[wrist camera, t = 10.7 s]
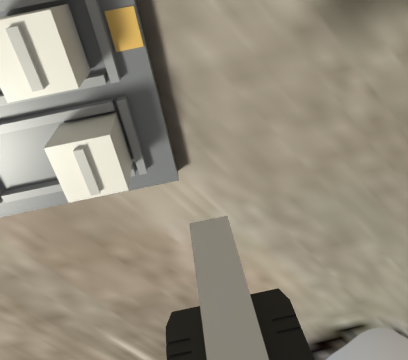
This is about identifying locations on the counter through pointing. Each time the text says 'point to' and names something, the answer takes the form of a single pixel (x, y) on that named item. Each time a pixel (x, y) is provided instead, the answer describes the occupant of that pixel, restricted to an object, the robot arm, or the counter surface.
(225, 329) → the robot arm
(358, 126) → the counter surface
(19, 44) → the off-white cube
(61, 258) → the counter surface
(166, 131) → the switch bank
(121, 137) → the cream cube
